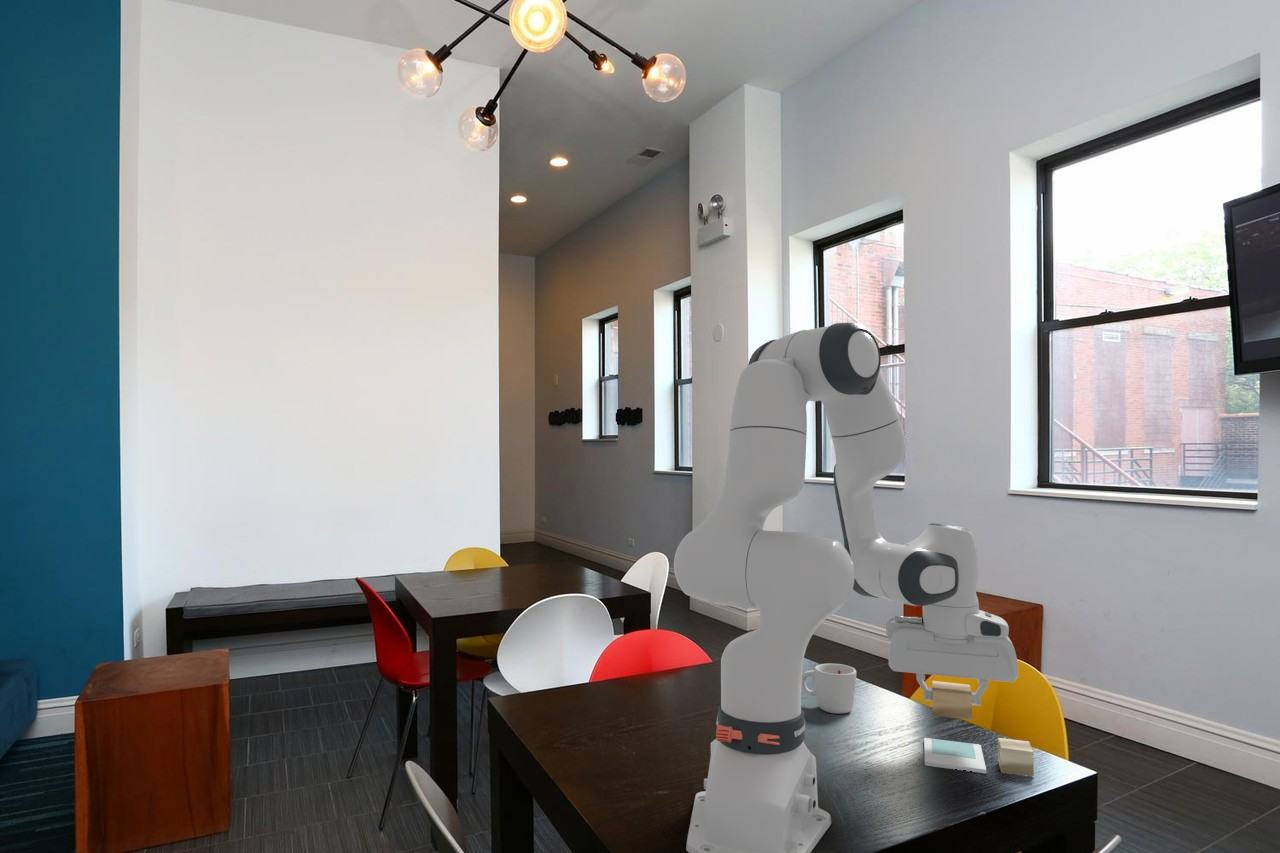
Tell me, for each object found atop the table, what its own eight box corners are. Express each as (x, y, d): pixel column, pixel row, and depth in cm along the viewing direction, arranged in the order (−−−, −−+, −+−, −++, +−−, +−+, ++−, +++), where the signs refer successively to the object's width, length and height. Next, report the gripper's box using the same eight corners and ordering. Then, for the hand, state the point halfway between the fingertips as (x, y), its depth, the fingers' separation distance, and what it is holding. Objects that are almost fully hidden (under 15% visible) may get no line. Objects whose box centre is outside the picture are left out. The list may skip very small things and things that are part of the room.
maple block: (1033, 778, 116) (1033, 751, 116) (1001, 773, 117) (1001, 747, 117) (1029, 766, 120) (1028, 741, 120) (998, 762, 121) (998, 737, 122)
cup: (795, 710, 146) (795, 669, 146) (806, 698, 153) (806, 659, 153) (851, 719, 141) (851, 676, 141) (860, 707, 148) (860, 666, 148)
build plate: (986, 773, 117) (986, 769, 117) (924, 765, 120) (924, 761, 120) (980, 748, 127) (980, 744, 127) (924, 741, 130) (924, 737, 130)
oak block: (972, 720, 122) (971, 695, 122) (932, 715, 124) (932, 691, 124) (970, 708, 128) (969, 684, 128) (932, 703, 130) (932, 680, 130)
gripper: (885, 618, 127) (886, 700, 127) (1019, 628, 120) (1020, 715, 120) (886, 611, 133) (887, 689, 133) (1013, 620, 126) (1015, 702, 126)
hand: (951, 702), depth 126 cm, fingers closed on oak block, 6 cm apart
